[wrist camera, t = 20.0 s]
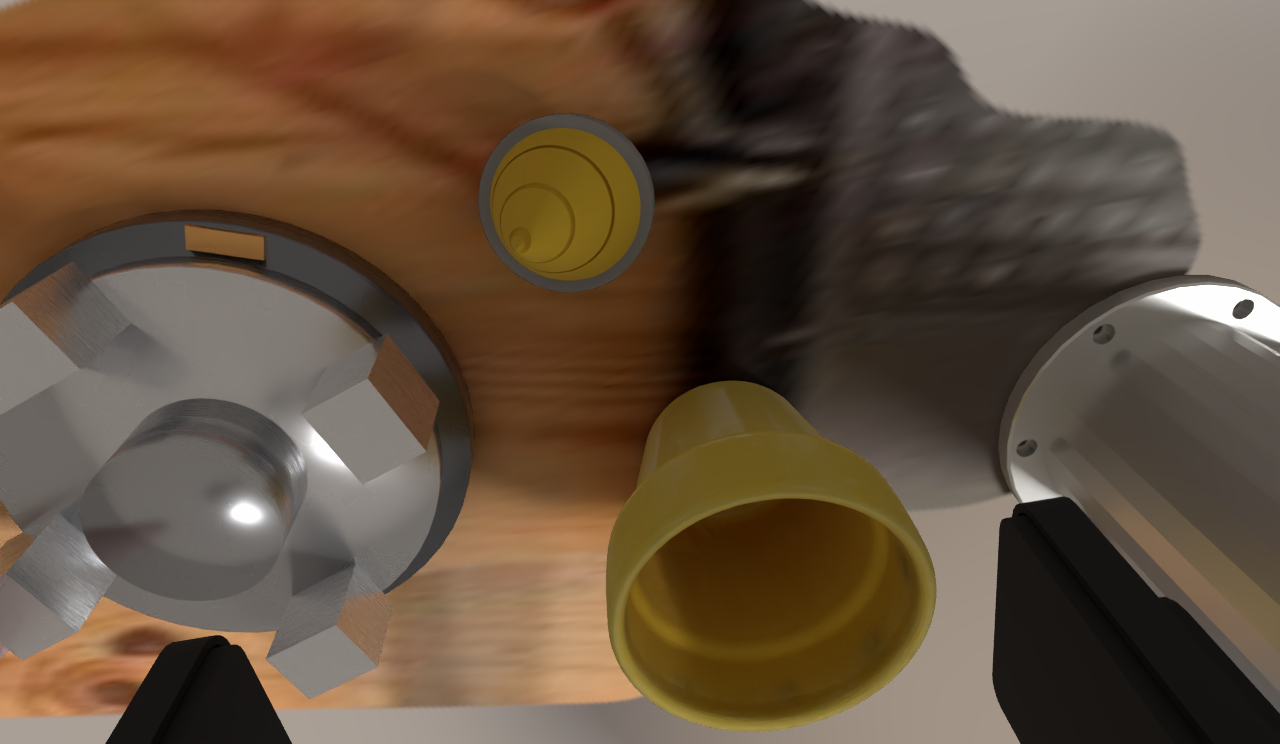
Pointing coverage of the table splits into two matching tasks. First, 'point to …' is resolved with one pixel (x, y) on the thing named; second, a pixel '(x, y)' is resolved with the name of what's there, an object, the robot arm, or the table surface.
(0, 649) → the coil
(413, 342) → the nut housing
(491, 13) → the table surface
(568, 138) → the stepped yellow cone
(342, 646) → the steel lathe chuck
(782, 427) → the plant pot
